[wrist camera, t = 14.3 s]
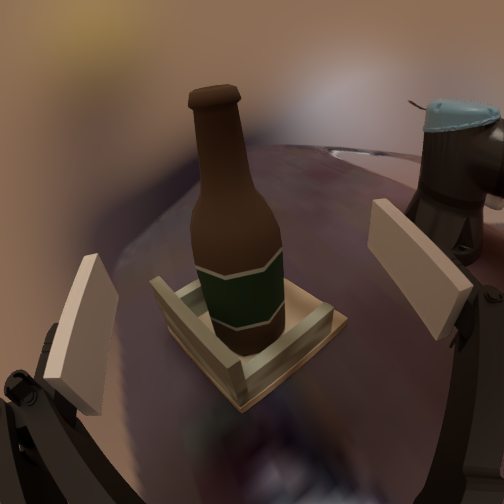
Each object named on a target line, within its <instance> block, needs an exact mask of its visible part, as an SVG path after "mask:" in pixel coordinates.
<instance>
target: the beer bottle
mask: <svg viewBox="0 0 504 504" xmlns="http://www.w3.org/2000/svg"><path fill="white" fill-rule="evenodd" d="M240 99H241V96H240V94H239V92H238V89H237V87H236V86H233V85H229V84H225V85H216V86H210V87H204V88H199V89H195V90H193V91H192V92H190V93H189V100H188V107H189V108H190V109H192V110H193V113H194V123H195V131H196V141H197V150H198V159H199V166H200V176H201V177H200V183H201V194H200V196H199V198H198V200H197V202H196V204H195V206H194V209H193V211H192V217H191V224H190V232H191V243H192V250H193V256H194V261H195V266H196V270H197V274H198V277H199V281H200V284H201V288H202V291H203V295H204V298H205V302H206V305H207V308H208V312H209V315H210V319H211V322H212V325H213V328H214V332H215V335H216V336H217V337H218V338H219V339H220V340H221V341H222V342H223V343H224V344H225V345H226V346H227V347H228V348H229V349H230V350H232V351H234V352H236V353H238V354H240V355H242V356H247V355H251V354H255V353H259V352H262V351H263V350H265V349H266V348H267V347H269V346H270V345H271V344H272V343H274V342H275V341H276V340H278V338H279V337H280V335H281V334H282V332H283V331H284V329H285V294H284V271H283V252H282V241H281V235H280V228H279V226H278V223H277V221H276V219H275V217H274V215H273V213H272V211H271V209H270V207H269V206H268V204H267V203H266V201H265V199H264V198H263V196H262V195H261V194H260V193H259V192H258V191H257V190H256V189H255V187H254V184H253V181H252V178H251V174H250V170H249V165H248V159H247V154H246V148H245V143H244V137H243V132H242V127H241V121H240V116H239V111H238V106H237V103H238V102H239V100H240Z"/></svg>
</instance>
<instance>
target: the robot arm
mask: <svg viewBox="0 0 504 504" xmlns="http://www.w3.org/2000/svg"><path fill="white" fill-rule="evenodd" d="M423 131H424V141H423V151H422V160H421V168H420V175H419V182H418V188H417V190H416V192H415V194H414V196H413V198H412V200H411V202H410V204H409V205H408V207H407V209H406V211H405V213H404V214H403V213H402V212H401V211H399V210H398V209H397V208H396V207H395V206H394V205H393V204H392V203H390V202H389V201H388V200H387V199H386V198H383V199H377V200H373V202H372V212H371V221H370V229H369V237H368V245H367V247H368V248H369V249H370V251H371V252H372V253H373V254H374V256H375V257H376V258H377V259H378V261H379V262H380V263H381V265H382V266H383V267H384V268H385V270H386V271H387V272H388V274H389V275H390V276H391V278H392V279H393V280H394V282H395V283H396V284H397V286H398V287H399V289H400V290H401V291H402V293H403V294H404V295H405V297H406V298H407V300H408V301H409V302H410V304H411V305H412V307H413V308H414V309H415V311H416V312H417V314H418V315H419V317H420V318H421V319H422V321H423V322H424V324H425V325H426V327H427V328H428V330H429V331H430V333H431V334H432V336H433V337H434V339H435V340H436V341H437V340H439V339H441V338H444V337H446V336H448V335H449V334H450V333H451V331H452V329H453V327H454V325H455V326H456V328H457V329H458V332H457V334H456V335H455V337H454V339H453V341H452V342H451V344H450V347H449V348H452V347H453V345H454V343H455V351H454V360H453V368H452V376H451V382H450V389H449V395H448V400H447V405H446V410H445V415H444V420H443V424H442V429H441V433H440V437H439V441H438V444H437V448H436V452H435V455H434V459H433V462H432V465H431V468H430V471H429V474H428V477H427V480H426V483H425V486H424V488H423V490H422V491H421V492H420V494H419V495H418V496H417V497H416V499H415V500H414V502H413V504H502V501H503V498H504V479H503V478H502V477H501V476H500V466H501V461H502V456H503V450H504V294H502V293H501V292H500V291H499V290H498V289H497V288H495V287H493V286H489V285H485V286H482V285H481V284H480V283H479V281H478V280H477V279H476V278H475V277H474V276H473V275H472V274H471V273H470V271H469V270H468V269H467V268H466V267H465V266H464V265H468V264H471V263H473V262H474V261H475V260H476V259H477V258H478V256H479V254H480V251H481V248H482V245H483V207H484V203H485V199H486V196H487V194H491V195H494V196H497V197H500V198H503V199H504V119H502V118H501V114H500V110H499V108H497V107H495V106H492V105H489V104H484V103H479V102H474V101H467V100H458V99H436V100H433V101H431V102H430V103H429V104H428V106H427V108H426V117H425V125H424V126H423ZM118 299H119V295H118V293H117V291H116V289H115V288H114V286H113V284H112V282H111V280H110V278H109V276H108V274H107V271H106V270H105V267H104V266H103V263H102V261H101V259H100V257H99V255H98V253H97V254H92V255H88V256H84V258H83V261H82V263H81V265H80V268H79V270H78V273H77V275H76V277H75V280H74V283H73V285H72V288H71V290H70V293H69V296H68V298H67V301H66V304H65V307H64V310H63V312H62V315H61V319H60V321H59V323H54V324H53V326H52V327H51V328H50V330H49V331H48V333H47V336H46V338H45V342H44V345H43V348H42V354H41V355H40V359H39V362H38V365H37V369H36V372H35V376H34V379H33V378H32V377H31V376H30V375H29V374H28V373H27V372H26V371H24V370H16V371H14V372H13V373H12V374H11V375H10V376H9V377H8V378H7V380H6V382H5V386H4V394H5V396H7V397H8V398H9V399H10V400H11V401H12V402H9V403H6V402H5V401H4V400H3V399H2V398H0V503H1V504H68V503H69V504H146V503H145V502H144V501H143V500H142V499H141V498H140V497H139V495H138V494H137V493H136V492H135V491H134V490H133V489H132V488H131V487H130V485H129V484H128V483H127V482H126V481H125V480H124V479H123V477H122V476H121V475H120V474H119V473H118V471H117V470H116V469H115V468H114V466H113V465H112V464H111V463H110V462H109V460H108V459H107V458H106V456H105V455H104V454H103V452H102V451H101V450H100V448H99V447H98V445H97V444H96V443H95V441H94V440H93V439H92V437H91V436H90V434H89V433H88V431H87V430H86V428H85V427H84V425H83V424H82V422H81V421H80V420H79V419H78V418H77V417H76V413H77V409H78V410H79V411H80V412H81V413H83V414H84V415H86V416H99V415H101V413H102V402H103V392H104V383H105V375H106V368H107V360H108V353H109V347H110V341H111V335H112V330H113V324H114V319H115V314H116V309H117V304H118ZM19 445H20V448H19ZM20 449H21V451H20ZM67 501H68V502H67Z"/></svg>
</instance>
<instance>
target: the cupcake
mask: <svg viewBox="0 0 504 504" xmlns="http://www.w3.org/2000/svg"><path fill="white" fill-rule="evenodd" d="M484 205H486V206H487V207H489V208H491V209H494V210H501V209H502V208H503V207H504V199H503V198H500V197H497V196H494V195H491V194H487V196H486V199H485V203H484Z"/></svg>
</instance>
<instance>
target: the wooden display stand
mask: <svg viewBox="0 0 504 504" xmlns="http://www.w3.org/2000/svg"><path fill="white" fill-rule="evenodd" d="M149 283H150V285H151V288H152V290H153V292H154V295H155V297H156V300H157V302H158V304H159V307H160V309H161V311H162V313H163V316H164V318H165V320H166V322H167V325H168V326H167V327H168V329H169V331H170V333H171V335H172V336H173V337H174V338H175V339H176V341H177V342H178V343H179V344H180V346H181V347H182V348H183V349H184V350H185V352H186V353H187V354H188V355H189V356H190V358H191V359H192V360H193V361H194V362H195V363H196V365H197V366H198V367H199V368H200V369H201V370H202V371H203V373H204V374H205V375H206V376H207V377H208V378H209V379H210V380H211V382H212V383H213V384H214V385H215V386H216V387H217V388H218V389H219V390H220V391H221V393H222V394H223V395H224V396H225V397H226V398H227V399H228V400H229V401H230V402H231V403H232V404H233V405H234V406H235V407H236V408H237V409H238V410H239V411H240V412H241V413H242V414H243V413H244V412H245V411H247V410H248V409H249V408H251V407H252V406H253V405H255V404H256V403H257V402H259V401H260V400H261V399H262V398H264V397H265V396H266V395H267V394H269V393H270V392H271V391H273V390H274V389H275V388H276V387H277V386H279V385H280V384H281V383H282V382H284V381H285V380H286V379H287V378H288V377H290V376H291V375H292V374H293V373H294V372H295V371H297V370H298V369H299V368H300V367H301V366H302V365H304V364H305V363H306V362H307V361H308V360H309V359H310V358H312V357H313V356H314V355H315V354H316V353H317V352H318V351H319V350H321V349H322V348H323V347H324V346H325V345H326V344H327V343H328V342H329V341H330V340H331V339H332V338H334V337H335V336H336V335H337V334H338V333H339V332H340V331H341V330H342V329H343V328H344V327H345V326H346V325H347V320H348V318H347V317H345V316H344V315H342V314H341V313H339V312H337V311H336V310H334V307H333V306H331V305H330V304H328V303H326V302H324V303H323V302H322V301H320V300H318V299H317V298H315V297H314V296H312V295H310V294H309V293H307V292H306V291H304V290H303V289H301V288H299V287H298V286H296V285H295V284H293V283H292V282H290V281H288V280H287V279H285V278H284V294H285V329H284V331H283V332H282V334H281V335H280V337H279V338H278V340H276V341H275V342H274V343H272V344H271V345H270V346H269V347H267V348H266V349H265V350H263V351H262V352H259V353H255V354H251V355H247V356H242V355H240V354H238V353H236V352H234V351H232V350H230V349H229V348H228V347H227V346H226V345H225V344H224V343H223V342H222V341H221V340H220V339H219V338H218V337H217V336H216V335H215V332H214V328H213V325H212V322H211V319H210V315H209V312H208V308H207V305H206V302H205V298H204V295H203V291H202V288H201V284H200V281H199V279H197V280H196V281H194V282H192V283H190V284H189V285H187V286H185V287H183V288H182V289H180V290H178V291H177V292H175V293H174V292H173V291H172V290H171V289H170V287H169V286H168V285H167V284H166V283H165V282H164V281H163V280H162V279H161V278H160V276H158V277H156V278H154V279H152V280H151V281H149Z"/></svg>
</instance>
